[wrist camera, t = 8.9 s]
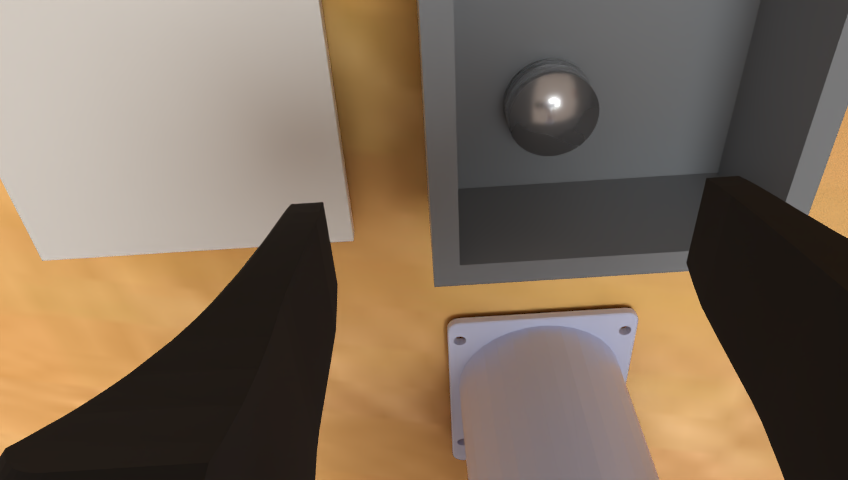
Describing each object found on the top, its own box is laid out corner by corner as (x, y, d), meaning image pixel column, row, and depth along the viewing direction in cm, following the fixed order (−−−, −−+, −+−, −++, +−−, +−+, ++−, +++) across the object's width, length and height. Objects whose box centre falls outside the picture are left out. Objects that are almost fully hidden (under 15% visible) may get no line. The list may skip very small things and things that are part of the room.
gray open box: (726, 178, 25) (790, 264, 21) (427, 197, 25) (434, 286, 21) (854, -314, 16) (1002, -326, 12) (400, -285, 16) (402, -287, 12)
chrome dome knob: (585, 135, 23) (594, 154, 22) (501, 140, 23) (506, 158, 22) (594, 55, 21) (604, 71, 20) (505, 60, 21) (510, 76, 20)
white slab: (355, 218, 26) (349, 296, 22) (57, 237, 26) (5, 317, 22) (263, -440, 15) (223, -490, 11) (-251, -406, 15) (-447, -445, 11)
